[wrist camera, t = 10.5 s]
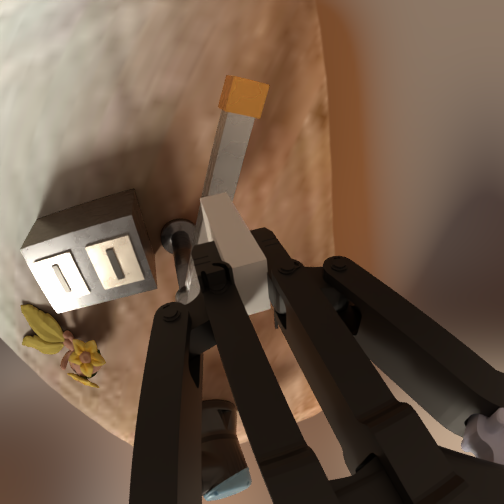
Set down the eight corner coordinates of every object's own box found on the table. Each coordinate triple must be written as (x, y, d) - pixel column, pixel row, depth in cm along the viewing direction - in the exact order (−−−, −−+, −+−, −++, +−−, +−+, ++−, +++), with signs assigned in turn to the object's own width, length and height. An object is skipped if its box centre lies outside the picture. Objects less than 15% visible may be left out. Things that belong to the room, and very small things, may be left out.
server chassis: (154, 255, 40) (157, 291, 34) (65, 279, 38) (56, 316, 32) (134, 188, 34) (131, 217, 28) (36, 219, 32) (18, 252, 26)
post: (201, 246, 42) (218, 300, 33) (165, 255, 41) (174, 312, 32) (194, 214, 39) (210, 265, 30) (156, 224, 38) (161, 277, 29)
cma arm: (173, 307, 31) (176, 324, 29) (220, 73, 20) (227, 74, 18) (206, 308, 32) (211, 324, 30) (264, 84, 21) (276, 86, 19)
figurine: (19, 299, 36) (71, 374, 32) (65, 284, 44) (119, 347, 41) (21, 348, 41) (69, 412, 37) (59, 331, 49) (107, 388, 46)
